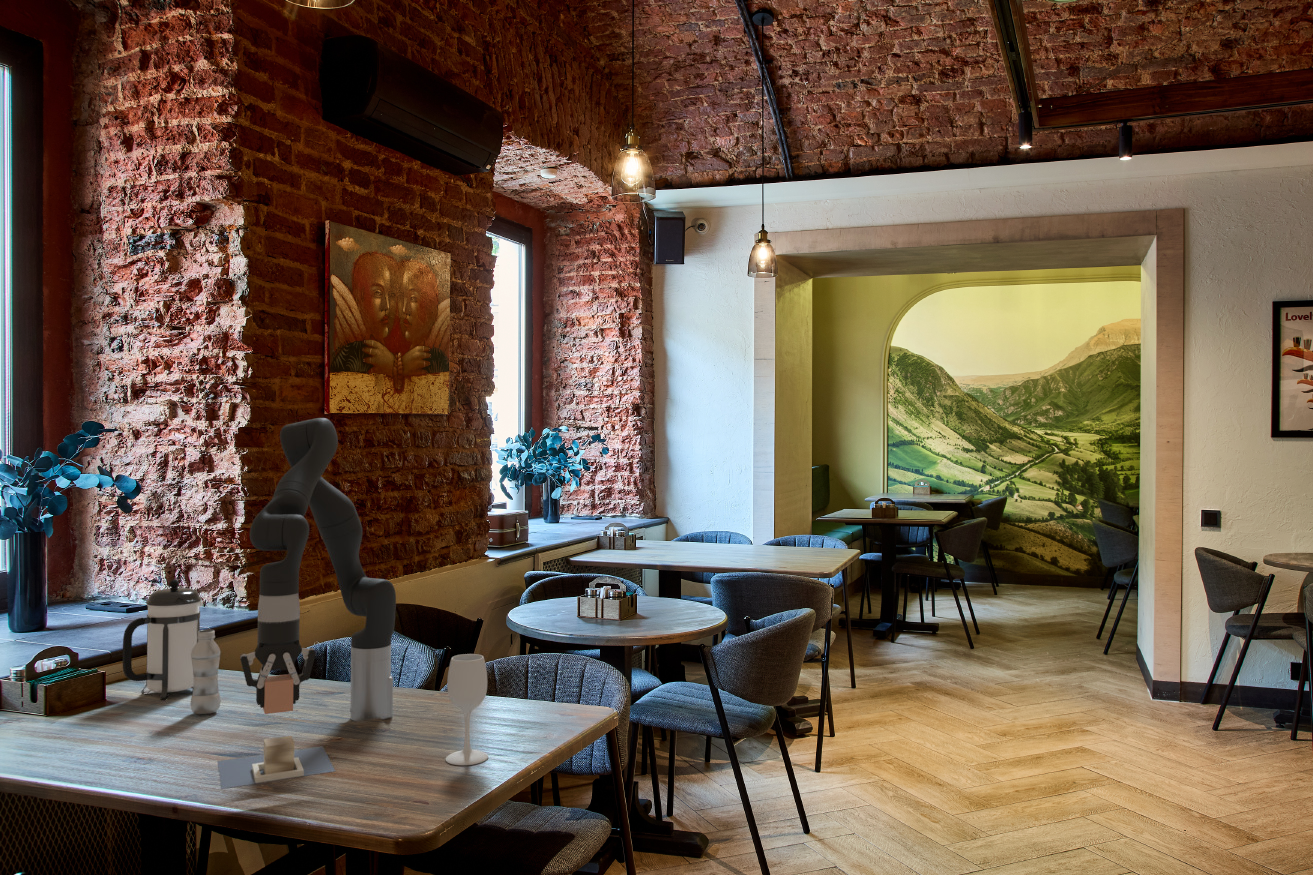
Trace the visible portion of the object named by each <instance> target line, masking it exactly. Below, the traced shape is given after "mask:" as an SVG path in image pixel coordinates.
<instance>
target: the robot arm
mask: <svg viewBox="0 0 1313 875" xmlns="http://www.w3.org/2000/svg"><path fill="white" fill-rule="evenodd" d="M279 439H280V445H281V448H282V451H283V454H284V456H285V458H286V460H287V463H288V465H289V466H290V469H289V470H287V471H286V472H285V474H284V475H283V476H282V477H281V478H280V479H279V481H278V483H277V485H276V488H275V491H274V494H273V496H272V498H271V500H270V501H269V502H268V503H267V504H266V505H265V506H264V507H263V508H262V510H260V511H259V513H258V514H257V515H256V516H255V518H254V519H253V521H252V524H251V525H250V529H249V540H250V543H251V544H252V546H254V548H255V549H257V550H259V551H265V552H266V551H268V552H273V551H275V552H277V551H278V552H279V551H280V552H281V551H287V554H286V555H285V557H284V559H282V560H280V561H274V562H270V563H266V564H264V565H262V566H261V568H260V570H259V571H260V572H259V597H258V605H257V645H256V647H255V649H254V652H253V651H252V652H249V653H241V654H240V657H239V659H240V663H241V667H242V671H243V672H242V673H243V675H244V680H245V683H246V686H248V687H254V688H256V695H255V700H256V704H257V706H259V707H260V709H263V708H264V695H265V688H264V684H265V681H266V679H267V677H268V676H270V672H274V671H278V670H281V671H282V670H284V671H285V670H287V671H288V674H290V676H291V678H293V705H296V703H297V701H299V700H300V685H301V683H302V682H305V681H309V679H310V677H311V673H312V670H313V666H314V662H315V658H316V654H317V652H316V649H315V648H313V647H309V648H307V647H306V648H305V647H302V646H301V644H300V618H301V617H300V615H301V610H300V609H301V606H300V603H301V602H300V596H299V591H300V590H299V586H300V584H299V583H300V582H299V579H300V574H299V573H300V567H301V563H302V559H303V554H304V551H305V548H306V546H307V542H308V539H309V535H310V525H309V522H308V520H307V519H306V518H305V515H306V513H307V511H308V508H309V509H310V511H311V514H312V516H313V519H314V522H315V524H316V527H317V529H318V533H319V535H320V537H321V540H322V541H323V543H324V545H325V546H324V547H325V548H326V551H327V553H328V556H329V558H330V561H331V562H330V563H331V564H332V566H333V569H334V572H335V575H336V580H337V583H338V586H339V590H340V594H341V597H342V600H343V604H344V605H345V607H346V609H347V611H348V612H349V613H350V614H352V615H354V616H357V617H365V625H364V628H363V629H361V630H358V631H356V632H354V633H353V634H352V635H351V640H350V647H351V648H350V710H349V711H350V720H351V721H353V722H362V721H369V720H375V719H381V720H386V719H389V718H393V717H394V716H393V712H394V711H393V710H394V708H393V707H394V706H393V705H394V702H393V700H394V695H393V694H394V678H393V676H392V637H393V635H394V632H395V631H394V630H395V622H396V609H397V607H396V606H397V594H396V593H397V592H396V590H395V587H394V584H393V583H392V582H391V581H390V580H387V579H384V578H373V577H368V576H367V575H366V573H365V571H364V569H363V566H362V564H361V561H360V549H361V548H360V547H361V544H362V539H363V526H362V522H361V519H360V516H359V514H358V512H357V510H356V509H357V508H356V507H355V505H354V503H353V502H352V500H351V498H349V497H348V496H347V495H345V494H344V493H343V491H340V490H339V489H338V488H336V487H335V486H333V485H332V484H331V483H329V481H327V480H326V479H324V477H322V476H323V474H324V473H325V471H326V469H327V468H328V465H329V464H330V463H331V461H332V460H333V458H334V457H335V454H336V452H337V450H338V444H339V441H338V440H339V438H338V434H337V430H336V428H335V426H334V424H333V422H332V421H331V420H330V419H328V418H325V417H317V418H313V419H307V420H302V421H298V422H293V423H289V424H285V425H284V426H282V427H281V429H280V433H279ZM301 654H302V657H303V659H304V664H303V668H302V672H301V673H300V674H298V672H297V670H296V667H295V664H294V663H295V661H296V660H298V658H299V656H300V655H301ZM255 658H256V659H257V660H258V662H259V663H260V664H261V668H260V670H259V673H258V677H257V678H253V674H252V671H251V665H253V664H254V659H255Z"/></svg>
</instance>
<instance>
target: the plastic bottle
mask: <svg viewBox="0 0 1313 875" xmlns="http://www.w3.org/2000/svg"><path fill="white" fill-rule="evenodd" d="M215 632H216V631H215V630H214V629H202V630H201V629H200V631H198V637H197V639H198V640H199V641H198V643H197V644H196V645H195V646H194V648H193V650H192V652H191V658H192V666H193V675H194V677H193V679H194V682H193V689H192V695H191V698H190V704H189V705H190V711H191V712H192V713H193V714H197V715H209V714H212V713H215V712H216V713H217V711H218V710H219V709H220V707H221V702H222V700H221V695H220V692H219V691H220V690H219V665H220V660H221V648H220V647H219V644H217V642H216V641H215V640H214V639H215V638H216V635H215Z"/></svg>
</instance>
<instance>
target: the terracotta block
mask: <svg viewBox="0 0 1313 875" xmlns="http://www.w3.org/2000/svg"><path fill="white" fill-rule="evenodd" d="M264 688H265V695H264V708H262V710H263V713H264V715H268V714H269V715H270V714H278V713H286V712H294V704H293V678H291V676H290V674H289V673H288V674H287V673H286V674H279V675H268V677H267V679H266V681H265V684H264Z"/></svg>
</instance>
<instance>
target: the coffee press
mask: <svg viewBox="0 0 1313 875" xmlns="http://www.w3.org/2000/svg"><path fill="white" fill-rule="evenodd" d="M179 585H180V582H179V580H177V579H172V580H170V581H169V586H170V588H163V589H159V590H158V589H157V590H156V591H154V592H152V593H151V594H150V595H149V597H148V599H147V600H145V601H146V602H145V604H146V606H147V614H146V617H138V618H136V619H134V620H132V621H131V622H130V623H129V624H127V626H126V628H125V631H124V633H123V636H122V637H123V639H122V670H123V674H124V675H125V677H126V678H127V679H128V680H130V681H133V682H144V681H146V683H145V686H144V687H143V689H142V690H141V695H143V694H144V693H147V694H146V695H148V694H149V693H150V692H154V693H159V694H160V701H167V700H168V698H169V695H170V694H171V693H174V692H181V691H186V690H189V689H192V690H193V682H194V679H193V677H194V675H193V666H192V658H191V652H192V650H193V648H194V646H195V645H196V644H197V643H198V641H199V640H198V639H197V637H198V631H201V628H200V626H201V621H200V620H201V611H200V607H203V606H204V603H203V601H202V597H201V596H200V594H199V592H198V591H197V590H195V589H193V588H188V587H187V588H186V587H179ZM146 624H147V628H146V637H147V639H146V670H145V672H146V673H145V672H144V673H140V674H139V673H138V674H136V673H135V672H134V671H133V668H132V661H133V660H132V652H133V650H132V648H133V646H132V645H133V644H132V643H133V634H134V632H135V631H136V629H137V628H139V627H140V626H143V625H146ZM146 688H147V689H148V690H149V691H148V692H145V689H146ZM166 699H167V700H166Z"/></svg>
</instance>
